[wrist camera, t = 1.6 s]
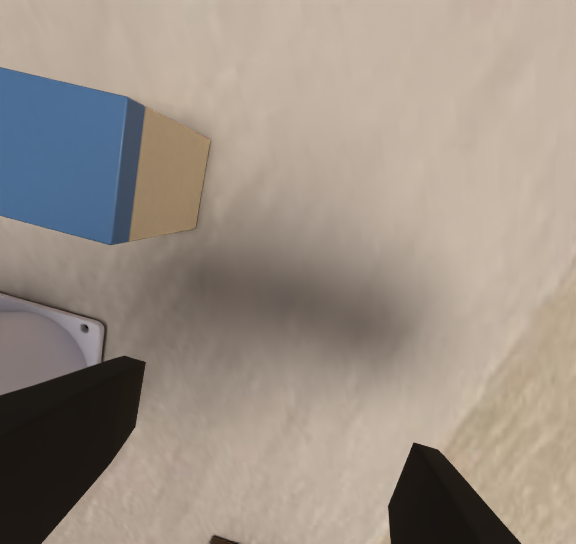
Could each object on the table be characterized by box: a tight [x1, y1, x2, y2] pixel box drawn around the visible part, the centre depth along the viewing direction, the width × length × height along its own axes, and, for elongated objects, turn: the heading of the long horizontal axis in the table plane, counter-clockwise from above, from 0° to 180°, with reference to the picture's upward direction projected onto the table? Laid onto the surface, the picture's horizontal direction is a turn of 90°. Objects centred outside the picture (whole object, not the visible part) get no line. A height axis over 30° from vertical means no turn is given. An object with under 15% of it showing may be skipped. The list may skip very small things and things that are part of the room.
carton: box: [0, 67, 210, 245], centre depth 14 cm, size 5×5×7 cm
